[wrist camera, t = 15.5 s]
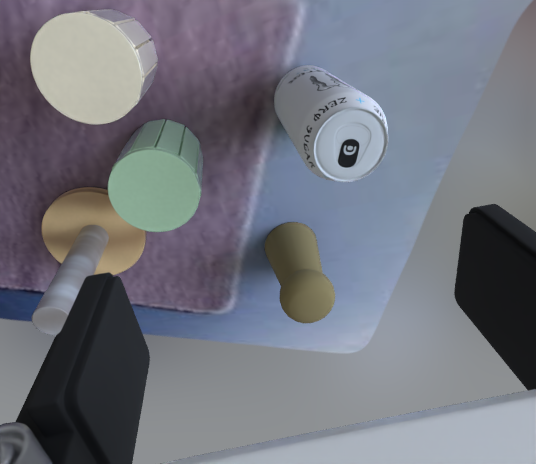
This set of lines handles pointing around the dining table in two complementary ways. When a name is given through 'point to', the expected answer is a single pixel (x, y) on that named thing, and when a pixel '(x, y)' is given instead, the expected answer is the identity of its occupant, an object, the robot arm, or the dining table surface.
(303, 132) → the energy drink can
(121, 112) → the cup
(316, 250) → the olive pawn figure
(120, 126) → the dining table surface
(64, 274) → the disc
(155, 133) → the green grooved cylinder
